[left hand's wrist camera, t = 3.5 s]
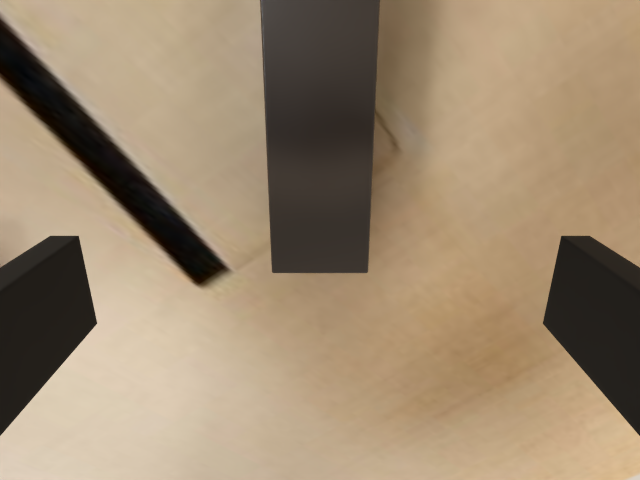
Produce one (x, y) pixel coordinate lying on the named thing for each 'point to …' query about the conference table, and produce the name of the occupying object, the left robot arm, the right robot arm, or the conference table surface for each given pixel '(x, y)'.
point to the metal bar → (320, 131)
